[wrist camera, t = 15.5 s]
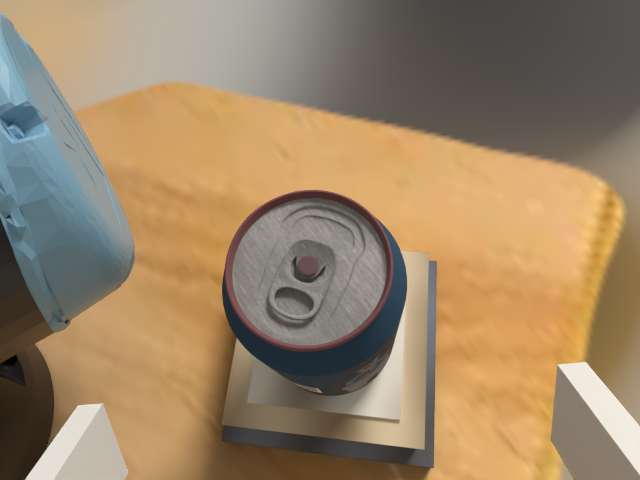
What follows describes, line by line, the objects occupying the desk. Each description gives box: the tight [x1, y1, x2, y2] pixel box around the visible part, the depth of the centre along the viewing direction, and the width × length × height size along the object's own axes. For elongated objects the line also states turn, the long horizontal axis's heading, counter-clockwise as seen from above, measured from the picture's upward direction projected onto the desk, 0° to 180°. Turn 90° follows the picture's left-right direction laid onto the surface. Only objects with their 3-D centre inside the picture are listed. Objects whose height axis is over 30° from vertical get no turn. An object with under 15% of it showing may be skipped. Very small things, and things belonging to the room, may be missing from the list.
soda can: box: [222, 190, 407, 396], centre depth 21 cm, size 7×7×12 cm
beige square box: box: [221, 251, 437, 468], centre depth 29 cm, size 13×13×5 cm
